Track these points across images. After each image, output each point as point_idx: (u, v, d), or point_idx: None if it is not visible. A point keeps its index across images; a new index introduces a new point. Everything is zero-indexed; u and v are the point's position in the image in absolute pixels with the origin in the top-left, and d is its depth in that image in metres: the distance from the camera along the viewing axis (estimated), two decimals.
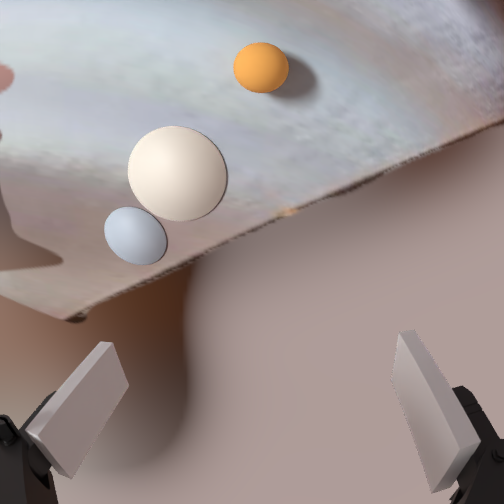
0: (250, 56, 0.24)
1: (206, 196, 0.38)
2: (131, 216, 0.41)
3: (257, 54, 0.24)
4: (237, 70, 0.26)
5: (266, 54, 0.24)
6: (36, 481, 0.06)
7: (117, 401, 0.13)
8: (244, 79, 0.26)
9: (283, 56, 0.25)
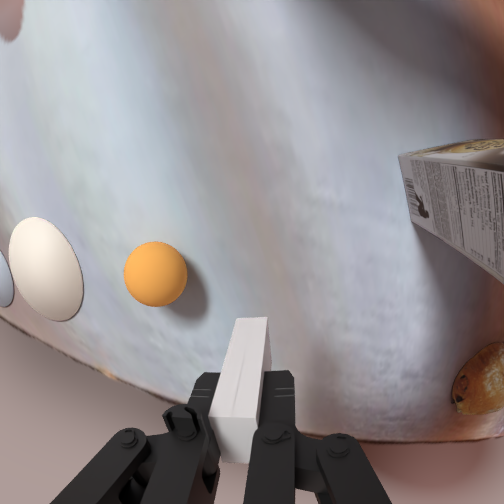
0: (144, 267, 0.23)
1: (54, 308, 0.31)
2: None
3: (151, 272, 0.23)
4: (127, 264, 0.24)
5: (159, 279, 0.23)
6: (202, 488, 0.07)
7: None
8: (125, 279, 0.23)
9: (178, 288, 0.24)
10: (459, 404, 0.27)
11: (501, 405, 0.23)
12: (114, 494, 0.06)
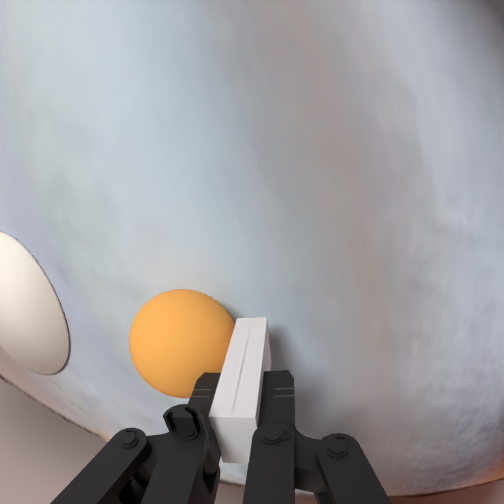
0: (168, 345, 0.12)
1: (32, 357, 0.20)
2: None
3: (182, 354, 0.12)
4: (134, 332, 0.13)
5: (197, 366, 0.12)
6: (202, 488, 0.07)
7: None
8: (133, 357, 0.13)
9: None
10: None
11: None
12: (115, 494, 0.06)
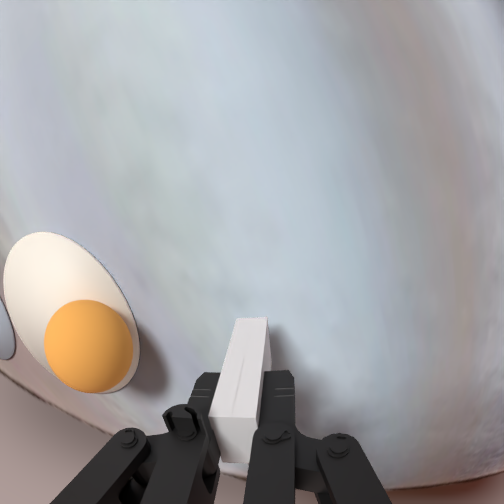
0: (117, 313, 0.16)
1: None
2: None
3: None
4: (109, 327, 0.14)
5: None
6: (202, 488, 0.07)
7: None
8: (122, 346, 0.15)
9: None
10: None
11: None
12: (115, 494, 0.06)
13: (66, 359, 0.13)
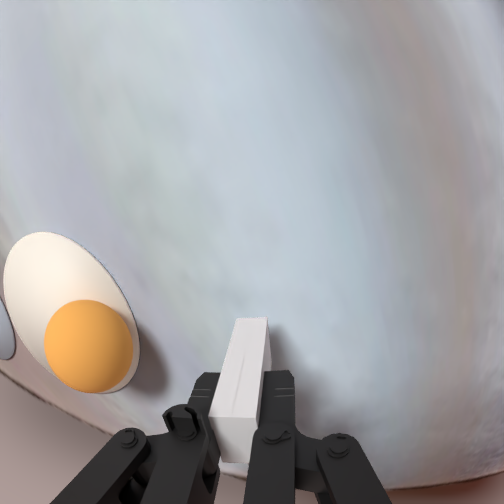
0: (117, 313, 0.16)
1: None
2: None
3: None
4: (109, 327, 0.14)
5: None
6: (202, 488, 0.07)
7: None
8: (122, 346, 0.15)
9: None
10: None
11: None
12: (115, 494, 0.06)
13: (66, 359, 0.13)
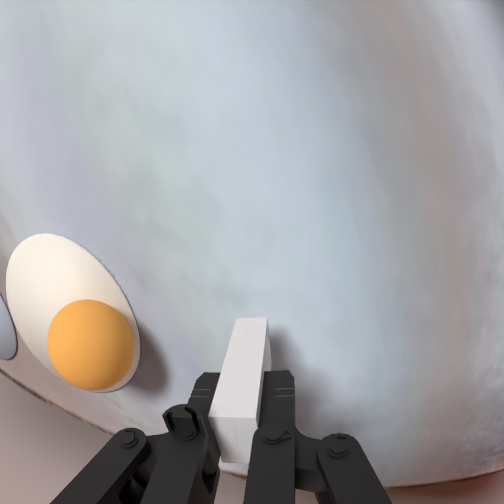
0: None
1: None
2: None
3: None
4: (111, 326, 0.15)
5: None
6: (202, 488, 0.07)
7: None
8: (124, 344, 0.15)
9: None
10: None
11: None
12: (115, 494, 0.06)
13: (69, 357, 0.13)
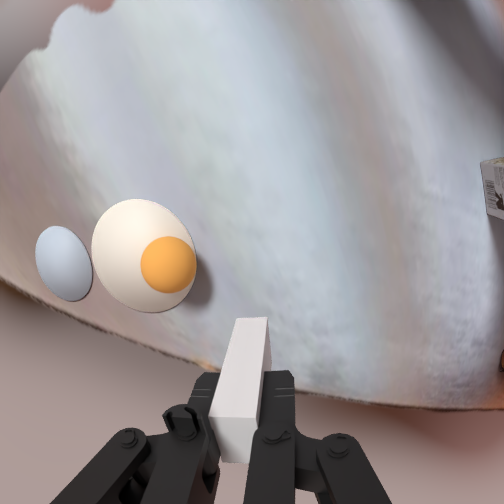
0: None
1: (150, 298, 0.33)
2: (74, 248, 0.33)
3: None
4: (187, 248, 0.28)
5: None
6: (202, 488, 0.07)
7: None
8: (193, 260, 0.29)
9: None
10: None
11: None
12: (114, 494, 0.06)
13: (162, 265, 0.26)
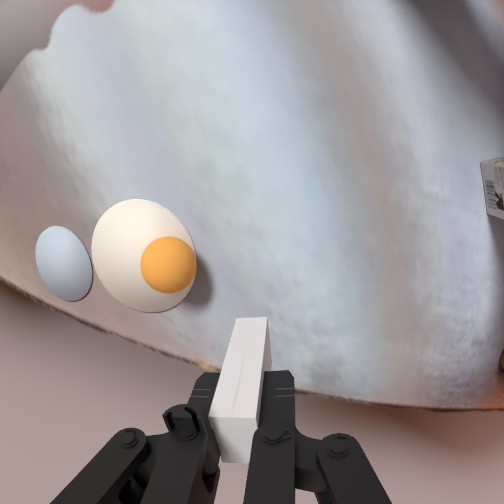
0: None
1: (150, 298, 0.33)
2: (74, 248, 0.33)
3: None
4: (187, 248, 0.28)
5: None
6: (202, 488, 0.07)
7: None
8: (193, 260, 0.29)
9: None
10: None
11: None
12: (115, 494, 0.06)
13: (162, 265, 0.26)
